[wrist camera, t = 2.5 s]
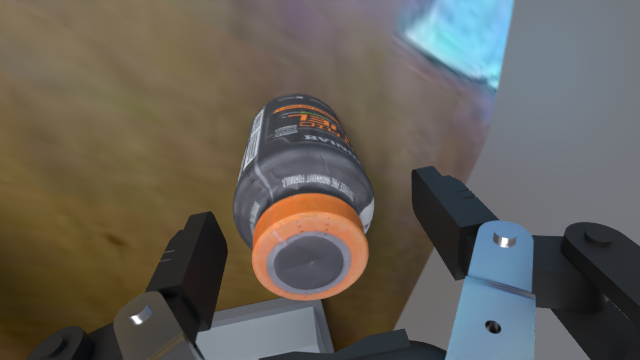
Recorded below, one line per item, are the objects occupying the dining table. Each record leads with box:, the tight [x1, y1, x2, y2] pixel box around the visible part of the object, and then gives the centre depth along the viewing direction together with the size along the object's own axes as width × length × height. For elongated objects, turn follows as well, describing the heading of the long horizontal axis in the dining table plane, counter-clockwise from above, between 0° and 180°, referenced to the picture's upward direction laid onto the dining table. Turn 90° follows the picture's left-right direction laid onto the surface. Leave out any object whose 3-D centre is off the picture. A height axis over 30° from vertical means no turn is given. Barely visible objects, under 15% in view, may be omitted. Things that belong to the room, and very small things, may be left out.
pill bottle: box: [233, 94, 374, 301], centre depth 15 cm, size 6×6×11 cm
